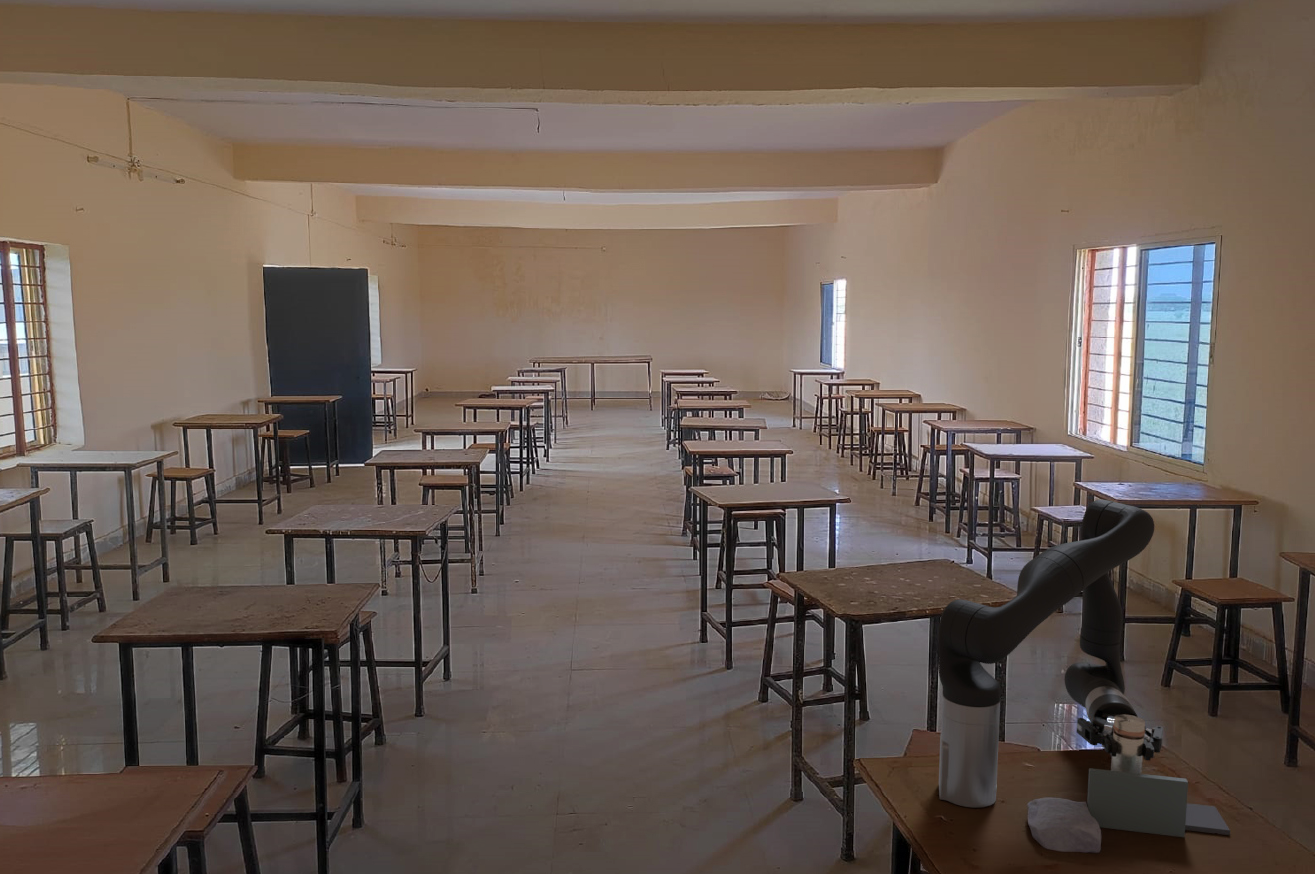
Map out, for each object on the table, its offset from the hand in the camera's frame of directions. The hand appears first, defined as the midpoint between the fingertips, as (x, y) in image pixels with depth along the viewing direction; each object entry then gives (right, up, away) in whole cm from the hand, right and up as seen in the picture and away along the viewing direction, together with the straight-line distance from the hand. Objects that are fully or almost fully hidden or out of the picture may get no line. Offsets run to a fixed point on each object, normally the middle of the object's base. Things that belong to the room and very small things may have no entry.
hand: (1131, 752), depth 156 cm
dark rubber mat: (+10, -11, 0) cm, 15 cm away
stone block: (-13, -12, -4) cm, 18 cm away
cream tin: (+1, -6, +3) cm, 7 cm away
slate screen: (-1, -11, -3) cm, 12 cm away
